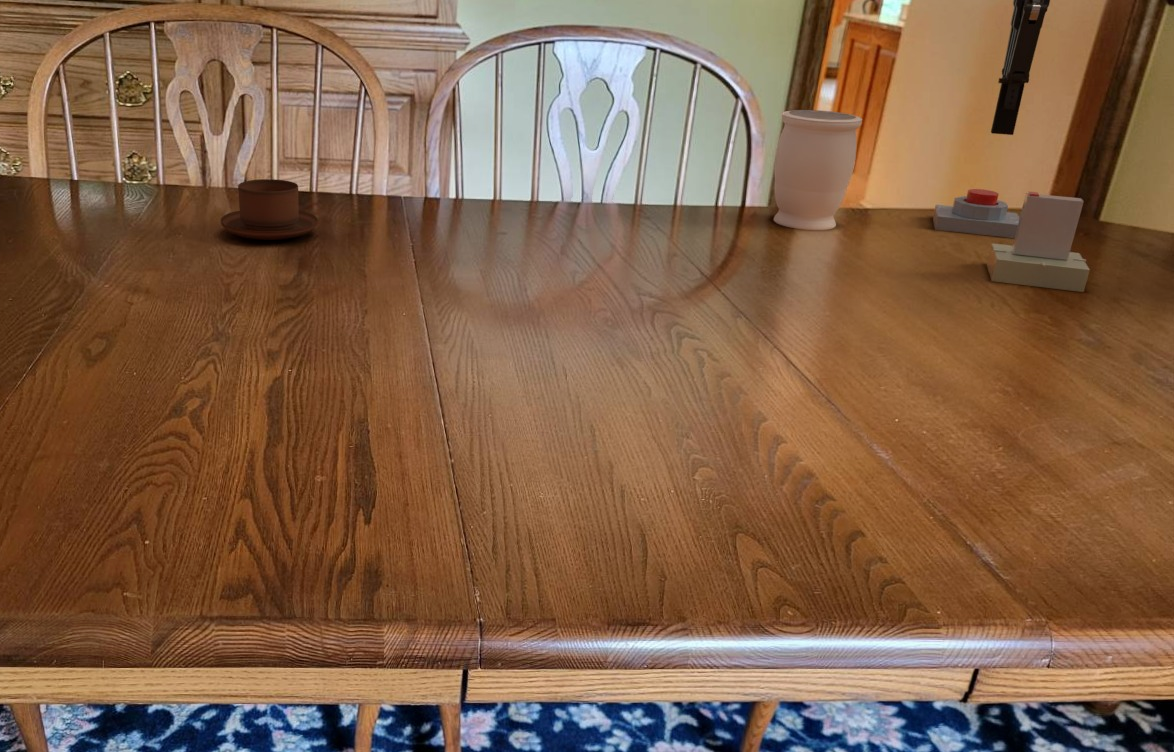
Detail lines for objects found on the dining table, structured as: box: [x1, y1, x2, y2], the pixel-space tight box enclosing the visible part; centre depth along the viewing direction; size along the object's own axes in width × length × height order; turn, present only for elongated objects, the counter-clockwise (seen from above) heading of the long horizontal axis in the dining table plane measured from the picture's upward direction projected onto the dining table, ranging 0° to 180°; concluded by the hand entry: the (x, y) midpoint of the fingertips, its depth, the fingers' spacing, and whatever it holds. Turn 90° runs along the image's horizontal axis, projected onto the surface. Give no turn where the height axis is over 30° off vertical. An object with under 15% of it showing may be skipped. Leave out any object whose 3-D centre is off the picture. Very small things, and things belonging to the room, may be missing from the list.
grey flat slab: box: [1012, 191, 1085, 260], centre depth 131 cm, size 6×2×7 cm, turn 72°
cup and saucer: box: [220, 178, 319, 241], centre depth 137 cm, size 12×12×6 cm
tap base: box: [986, 243, 1091, 293], centre depth 133 cm, size 10×10×3 cm
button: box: [966, 188, 1000, 206], centre depth 154 cm, size 4×4×2 cm
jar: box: [773, 109, 863, 231], centre depth 152 cm, size 11×10×15 cm
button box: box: [932, 195, 1020, 239], centre depth 155 cm, size 11×8×4 cm
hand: (1001, 133), depth 150 cm, fingers closed
